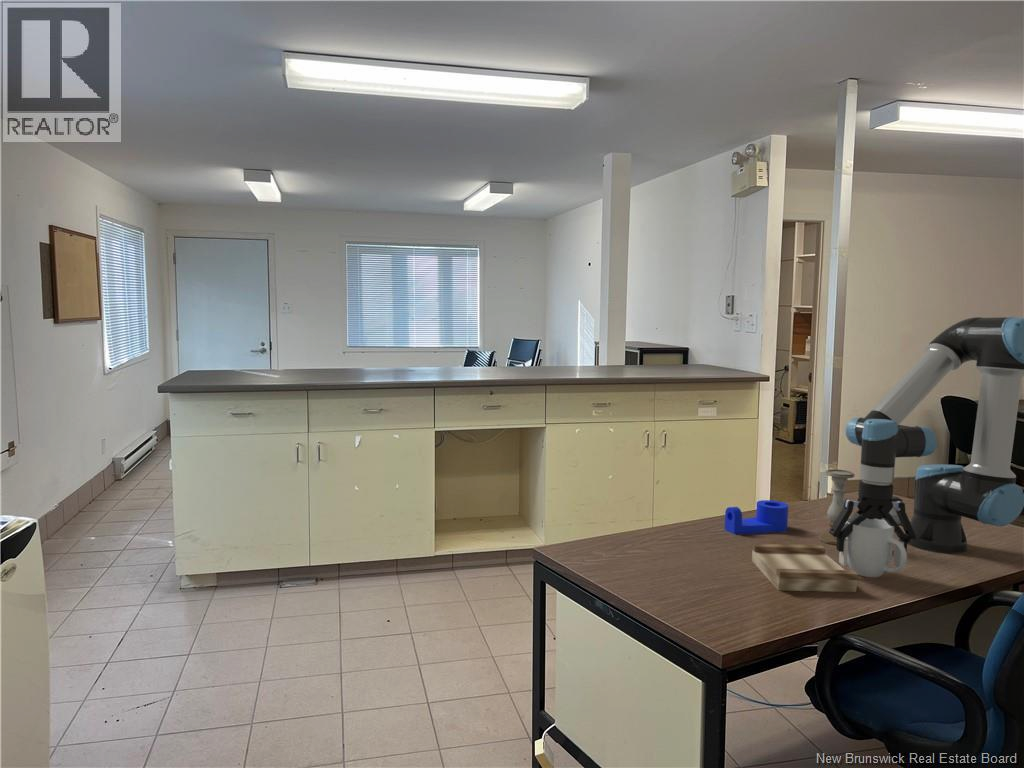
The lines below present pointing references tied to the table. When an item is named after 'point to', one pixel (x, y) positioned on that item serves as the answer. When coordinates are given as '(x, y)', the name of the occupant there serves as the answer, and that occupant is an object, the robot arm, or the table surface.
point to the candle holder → (836, 500)
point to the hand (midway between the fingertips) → (870, 565)
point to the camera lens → (893, 512)
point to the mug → (873, 548)
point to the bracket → (758, 518)
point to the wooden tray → (802, 568)
